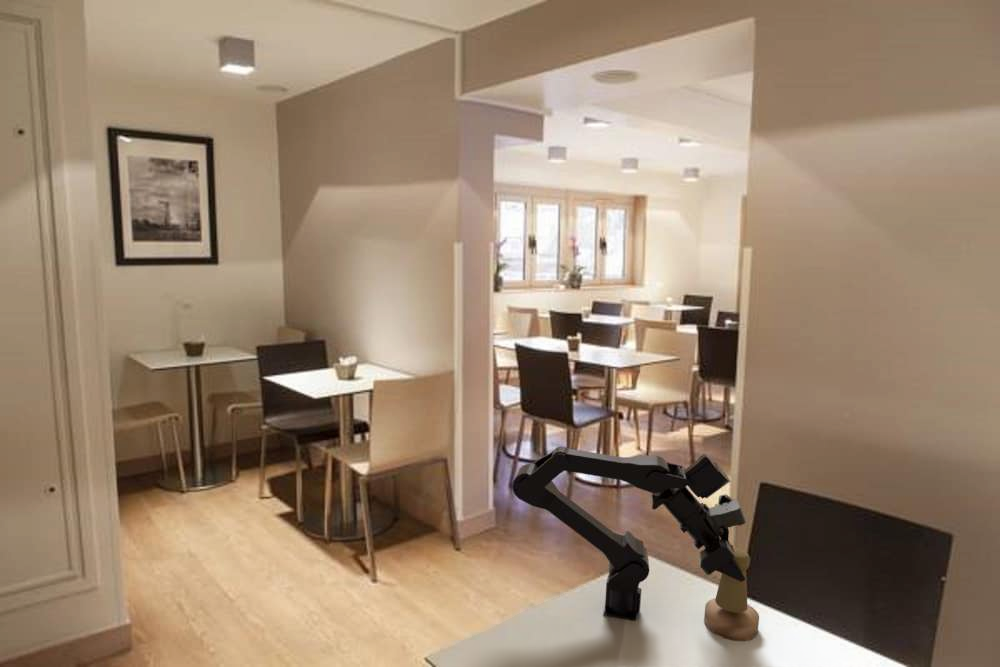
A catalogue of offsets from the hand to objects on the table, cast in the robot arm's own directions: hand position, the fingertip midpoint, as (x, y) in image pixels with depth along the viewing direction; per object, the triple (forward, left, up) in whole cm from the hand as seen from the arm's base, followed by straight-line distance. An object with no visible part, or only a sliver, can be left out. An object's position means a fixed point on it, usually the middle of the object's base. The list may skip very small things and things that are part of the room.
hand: (741, 573), depth 127 cm
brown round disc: (-1, 0, -11) cm, 11 cm away
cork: (-1, 0, -7) cm, 7 cm away
